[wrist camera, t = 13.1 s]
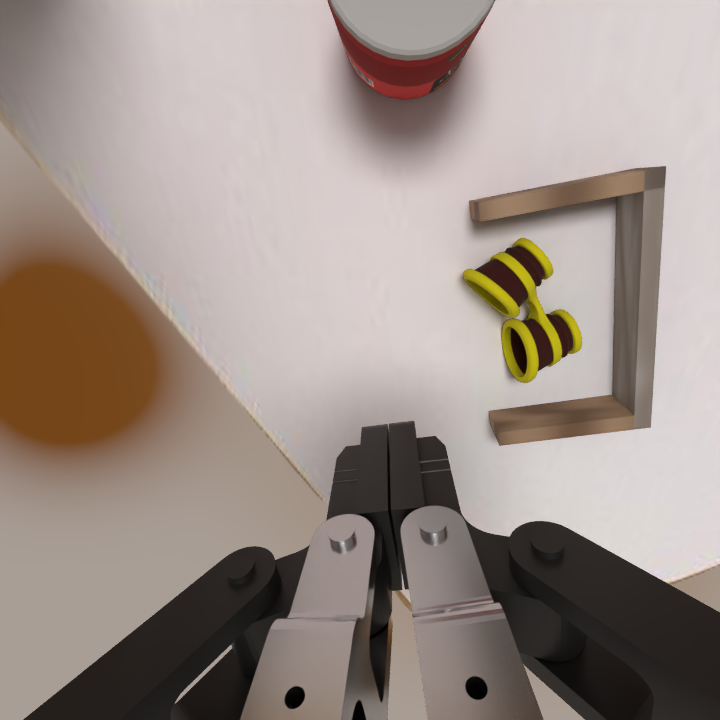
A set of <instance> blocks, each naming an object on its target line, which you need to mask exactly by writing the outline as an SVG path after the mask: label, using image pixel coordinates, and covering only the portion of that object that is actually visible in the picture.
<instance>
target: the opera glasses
mask: <svg viewBox="0 0 720 720" xmlns="http://www.w3.org/2000/svg"><path fill="white" fill-rule="evenodd" d="M552 274H553V267H552V264H551V263H550V261H549V259H548V258H547V256H546V255H545V254H544V253H543V251H542V250H541V249H540V248H539V247H538V246H537V245H535V244H534V243H533V242H531V241H530V240H528V239H525V238H520V239H518V240H517V241H516V242H515V243H514V245H513V248H507V249H506V251H505V253H504V252H500V253H498V254H496V255H494V256H492V257H491V258H490V261H489V262H488V263H486V264H484V265H483V266H481V267H479V268H477V269H476V270H473V269H467V270H465V271H464V272H463V277H464V279H465V281H466V282H467V283H468V284H469V285H470V286H471V288H472V289H473V290H474V291H475V292H476V293H478V294H479V295H480V296H481V297H482V298H483V299H484V300H485V301H486V302H488V303H489V304H490V305H491V306H492V307H494V308H495V309H496V310H498V311H499V312H500V313H502V314H503V315H505V316H507V317H509V318H512V319H509V320H507V321H506V322H505V323H504V325H503V329H502V346H503V351H504V355H505V359H506V362H507V364H508V367H509V369H510V371H511V373H512V374H513V376H514V377H515V378H516V379H517V380H518V381H520V382H523V383H527V382H530V381H532V380H533V379H534V378H535V377H536V375H537V372H538V371H539V370H541V369H542V368H544V367H546V366H549V367H550V366H552V365H554V364H555V363H557V362H558V361H560V359H561V357H562V358H563V357H565V356H567V354H568V353H569V354H573V353H576V352H578V351H579V350H580V349H581V346H582V337H581V332H580V330H579V327H578V325H577V323H576V321H575V320H574V318H573V317H572V316H571V315H570V314H569V313H568V312H566V311H565V310H562V309H559V310H556V311H554V312H552V313H551V315H550V314H545V313H544V311H543V309H542V307H541V304H540V302H539V300H538V297H537V294H536V286H540V285H541V280H542V279H544V280H545V279H547V278H549V277H550V276H551V275H552ZM524 300H525V301H526V302H527V304H528V306H529V309H530V313H529V315H528V318H527V319H526V320H523V321H520V320H518V319H515V317H517V316H518V315H519V313H520V310H519V307H520V305H521V304H522V303H523V302H524ZM515 360H516V361H515Z"/></svg>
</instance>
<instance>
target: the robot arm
mask: <svg viewBox="0 0 720 720" xmlns="http://www.w3.org/2000/svg"><path fill="white" fill-rule="evenodd" d="M401 569H402V573H401ZM402 575H403V580H404V586H405V589H409V592H410V599H411V606H412V612H413V614H412V615H413V622H414V630H415V637H416V643H417V650H418V657H419V663H420V671H421V677H422V684H423V691H424V698H425V704H426V711H427V717H428V720H543V717H542V714H541V712H540V709H539V706H538V704H537V700H536V698H535V695H534V692H533V690H532V687H531V684H530V681H529V679H528V676H527V673H526V670H525V668H524V665H525V666H526V667H527V668H528V669H529V670H530V671H532V673H534V674H535V675H536V676H537V677H538V678H539V679H540V680H541V681H543V682H544V683H545V684H546V685H547V686H548V687H549V688H551V689H552V690H553V691H554V692H555V693H556V694H557V695H558V696H559V697H561V698H562V699H563V700H564V701H565V702H566V703H567V704H568V705H570V706H571V707H572V708H573V709H574V710H575V711H576V712H577V713H578V714H580V715H581V716H582V717H583V718H584V719H585V720H720V612H718V611H716V610H714V609H713V608H711V607H709V606H707V605H705V604H704V603H702V602H700V601H698V600H696V599H695V598H693V597H691V596H689V595H687V594H685V593H684V592H682V591H680V590H678V589H677V588H675V587H673V586H671V585H669V584H668V583H666V582H664V581H662V580H660V579H658V578H657V577H655V576H653V575H651V574H649V573H648V572H646V571H644V570H642V569H640V568H639V567H637V566H635V565H633V564H631V563H630V562H628V561H626V560H624V559H622V558H621V557H619V556H617V555H615V554H613V553H612V552H610V551H608V550H606V549H604V548H602V547H601V546H599V545H597V544H595V543H593V542H592V541H590V540H588V539H586V538H584V537H583V536H581V535H579V534H577V533H575V532H574V531H572V530H570V529H568V528H566V527H564V526H562V525H559V524H556V523H552V522H545V521H535V522H529V523H525V524H523V525H521V526H519V527H518V528H516V529H515V530H514V531H513V532H512V534H511V536H510V537H506V536H500V535H494V534H490V533H486V532H483V531H481V530H479V529H477V528H475V527H474V526H472V525H471V524H469V523H468V522H467V521H466V520H465V518H464V517H463V515H462V514H461V511H460V507H459V503H458V498H457V494H456V490H455V486H454V481H453V477H452V473H451V469H450V464H449V461H448V456H447V451H446V447H445V445H444V444H443V443H442V442H441V441H440V440H439V439H438V438H437V437H436V436H431V437H423V438H416V431H415V424H414V421H408V422H400V423H392V424H389V429H388V425H387V424H384V425H376V426H368V427H362V432H361V444H360V445H355V446H346V447H345V448H344V450H343V451H342V452H341V454H340V455H339V456H338V457H337V460H336V466H335V473H334V478H333V484H332V490H331V496H330V502H329V508H328V514H327V520H326V522H324V523H322V524H321V525H320V526H319V527H318V528H317V529H316V531H315V533H314V534H313V537H312V540H311V543H310V545H309V546H308V547H306V548H305V549H303V550H301V551H298V552H296V553H293V554H291V555H288V556H285V557H282V558H280V559H277V560H275V558H274V556H273V554H272V553H271V552H270V551H269V550H267V549H265V548H262V547H256V546H255V547H246V548H243V549H239V550H237V551H235V552H233V553H231V554H229V555H228V556H227V557H225V558H224V559H223V560H221V561H220V562H219V563H218V564H216V565H215V566H214V567H213V568H211V569H210V570H209V571H208V572H206V573H205V574H204V575H203V576H201V577H200V578H199V579H198V580H197V581H195V582H194V583H193V584H191V585H190V586H189V587H188V588H187V589H185V590H184V591H183V592H181V593H180V594H179V595H178V596H176V597H175V598H174V599H173V600H172V601H171V602H169V603H168V604H167V605H165V606H164V607H163V608H162V609H160V610H159V611H158V612H157V613H156V614H154V615H153V616H152V617H150V618H149V619H148V620H147V621H145V622H144V623H143V624H142V625H140V626H139V627H138V628H137V629H136V630H134V631H133V632H132V633H131V634H129V635H128V636H127V637H125V638H124V639H123V640H122V641H121V642H119V643H118V644H117V645H116V646H114V647H113V648H112V649H111V650H109V651H108V652H107V653H106V654H104V655H103V656H102V657H101V658H99V659H98V660H97V661H96V662H95V663H93V664H92V665H91V666H89V667H88V668H87V669H86V670H84V671H83V672H82V673H81V674H80V675H78V676H77V677H76V678H75V679H73V680H72V681H71V682H70V683H68V684H67V685H66V686H65V687H63V688H62V689H61V690H60V691H59V692H57V693H56V694H55V695H53V696H52V697H51V698H50V699H48V700H47V701H46V702H45V703H43V704H42V705H41V706H40V707H38V708H37V709H36V710H35V711H33V712H32V713H31V714H30V715H29V716H27V717H26V718H25V719H24V720H388V697H389V679H390V662H391V645H392V627H393V623H392V616H391V612H392V591H394V590H402ZM230 645H232V649H231V650H230V651H229V652H228V653H227V654H226V655H225V656H224V657H223V658H222V659H221V660H220V661H219V662H218V663H217V664H216V665H215V666H214V667H213V668H212V669H211V670H210V671H209V672H208V673H207V674H206V675H205V676H203V677H202V678H201V679H200V680H199V681H198V682H197V683H196V684H195V685H194V686H193V687H192V688H191V689H190V690H189V691H188V692H187V693H186V694H185V695H184V696H183V697H182V698H181V699H180V700H179V701H178V702H177V703H175V701H176V700H177V698H178V696H179V695H180V694H181V693H182V692H183V690H184V689H185V688H186V687H187V686H188V685H190V683H192V682H193V680H195V679H196V678H197V677H198V676H199V675H200V674H201V673H202V672H203V671H204V670H205V669H206V668H207V667H208V666H209V665H210V664H211V663H212V662H213V661H214V660H215V659H216V658H217V657H218V656H219V655H220V654H221V653H222V652H224V651H225V650H226V649H227V648H228V647H229V646H230ZM523 664H524V665H523ZM174 703H175V704H174Z"/></svg>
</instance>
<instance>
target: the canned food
mask: <svg viewBox="0 0 720 720" xmlns="http://www.w3.org/2000/svg"><path fill="white" fill-rule="evenodd" d="M494 2H495V0H328V3H329V6H330V9H331V12H332V15H333V17H334V20H335V23H336V26H337V29H338V31H339V34H340V37H341V40H342V43H343V45H344V48H345V51H346V54H347V56H348V58H349V60H350V63H351V65H352V67H353V68H354V70H355V71H356V73H357V74H358V75H359V77H360V78H361V79H362V80H363V81H364V82H365V83H366V84H367V85H368V86H369V87H371V88H372V89H374V90H375V91H377V92H379V93H380V94H383V95H386V96H388V97H391V98H398V99H412V98H417V97H421V96H424V95H427V94H429V93H431V92H432V91H434V90H436V89H438V88H439V87H440V86H441V85H443V84H444V83H445V82H446V81H447V80H448V79H449V78H450V77H451V75H452V74H453V73H454V72H455V71H456V69H457V67H458V66H459V64H460V62H461V60H462V59H463V57H464V55H465V54H466V52H467V50H468V48H469V47H470V45H471V43H472V42H473V40H474V38H475V36H476V35H477V33H478V31H479V29H480V28H481V26H482V24H483V22H484V21H485V19H486V17H487V15H488V13H489V12H490V10H491V8H492V6H493V4H494Z"/></svg>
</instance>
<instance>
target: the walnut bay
mask: <svg viewBox="0 0 720 720" xmlns="http://www.w3.org/2000/svg"><path fill="white" fill-rule="evenodd" d="M665 175H666V166H662V167H648V168H635V169H630V170H625V171H620V172H615V173H610V174H605V175H599V176H594V177H589V178H584V179H579V180H574V181H569V182H563V183H558V184H553V185H548V186H543V187H538V188H533V189H527V190H522V191H517V192H512V193H507V194H502V195H497V196H492V197H486V198H481V199H476V200H471V201H469V202H470V212H471V218H472V219H474V220H477V221H479V222H482V221H487V220H493V219H498V218H503V217H509V216H514V215H519V214H525V213H530V212H535V211H541V210H546V209H551V208H557V207H562V206H567V205H572V204H578V203H583V202H588V201H594V200H599V199H604V198H610V197H615V196H617V208H616V254H615V300H614V346H613V392H612V395H608V396H600V397H593V398H585V399H577V400H570V401H562V402H555V403H547V404H539V405H532V406H524V407H517V408H509V409H501V410H494V411H489V416H490V424H491V427H492V429H493V431H494V434H495V436H496V439H497V441H498V443H499V446H501V445H509V444H518V443H526V442H534V441H542V440H551V439H559V438H567V437H575V436H584V435H592V434H600V433H609V432H617V431H625V430H633V429H642V428H650V427H651V414H652V397H653V380H654V363H655V346H656V328H657V311H658V294H659V277H660V260H661V243H662V226H663V209H664V192H665Z"/></svg>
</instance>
